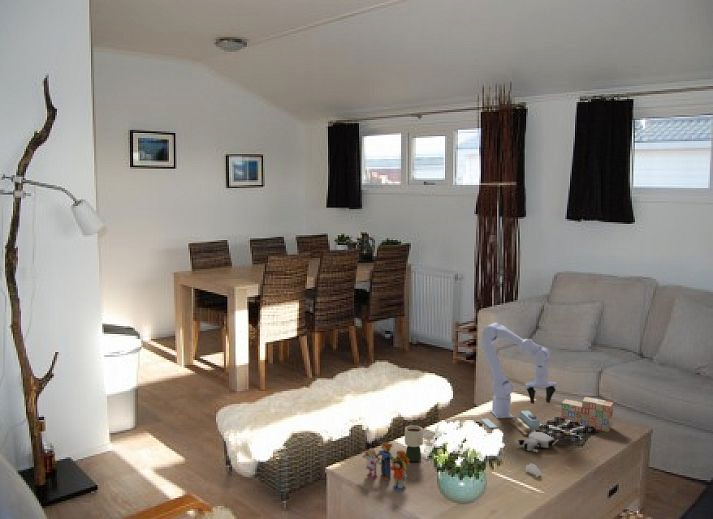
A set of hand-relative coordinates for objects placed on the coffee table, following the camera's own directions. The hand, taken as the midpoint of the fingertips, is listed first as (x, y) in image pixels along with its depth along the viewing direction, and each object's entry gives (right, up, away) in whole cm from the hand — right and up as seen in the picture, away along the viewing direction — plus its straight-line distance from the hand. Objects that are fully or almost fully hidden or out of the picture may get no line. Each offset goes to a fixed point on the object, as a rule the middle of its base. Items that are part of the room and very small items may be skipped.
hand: (540, 402), depth 290 cm
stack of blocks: (+21, -11, 0) cm, 24 cm away
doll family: (-72, -17, -54) cm, 92 cm away
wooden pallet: (-6, -11, -5) cm, 13 cm away
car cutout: (-19, -17, -46) cm, 52 cm away
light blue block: (-6, -10, -5) cm, 12 cm away
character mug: (-62, -15, -38) cm, 74 cm away
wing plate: (-24, -10, 0) cm, 26 cm away
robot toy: (-9, -14, -25) cm, 29 cm away
